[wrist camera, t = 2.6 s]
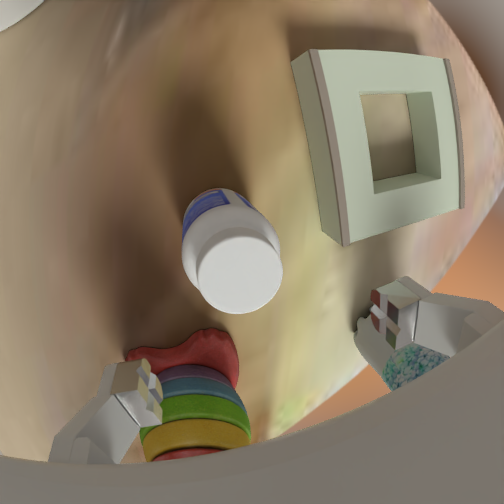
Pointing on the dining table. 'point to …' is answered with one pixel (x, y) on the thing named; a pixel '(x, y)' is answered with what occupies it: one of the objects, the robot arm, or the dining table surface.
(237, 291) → the pill bottle
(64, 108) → the dining table surface
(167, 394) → the stacking bear
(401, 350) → the bottle
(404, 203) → the holed board
